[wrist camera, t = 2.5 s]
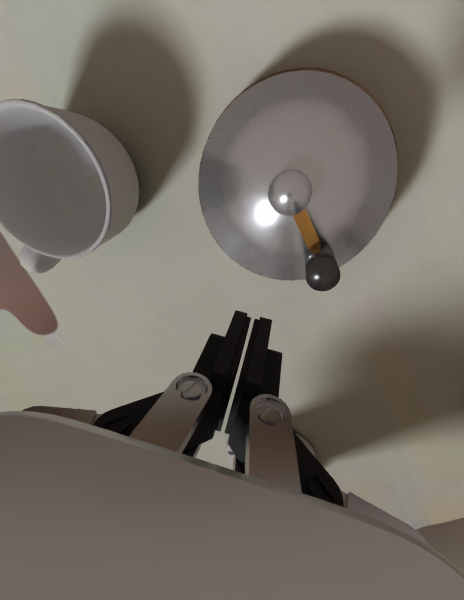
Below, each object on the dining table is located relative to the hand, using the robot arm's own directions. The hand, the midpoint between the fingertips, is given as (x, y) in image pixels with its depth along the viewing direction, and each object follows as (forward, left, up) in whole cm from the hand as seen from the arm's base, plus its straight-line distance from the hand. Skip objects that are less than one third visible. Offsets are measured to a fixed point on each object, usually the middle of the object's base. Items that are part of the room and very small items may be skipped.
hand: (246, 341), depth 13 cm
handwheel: (+4, -3, -13) cm, 14 cm away
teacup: (+12, +14, -16) cm, 24 cm away
